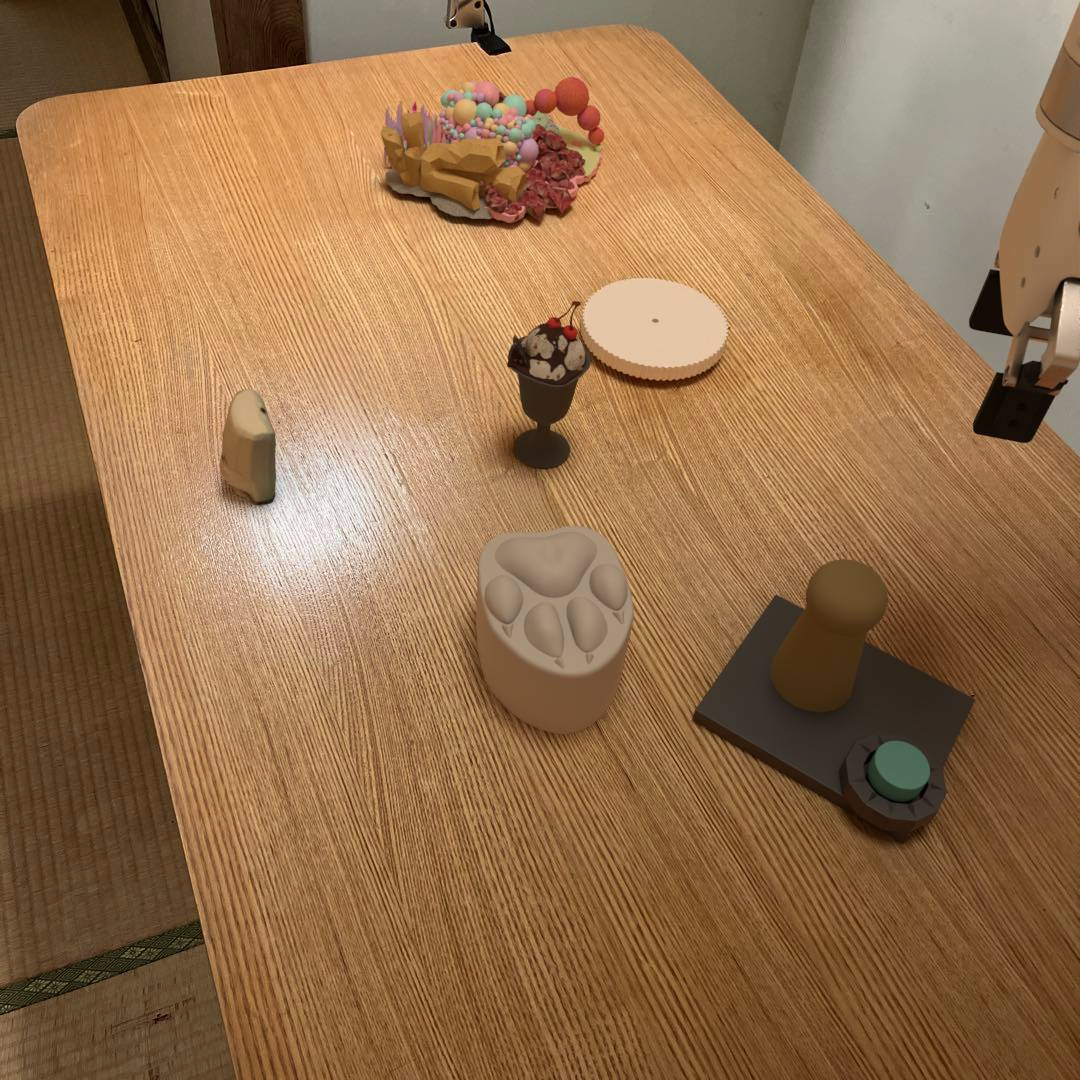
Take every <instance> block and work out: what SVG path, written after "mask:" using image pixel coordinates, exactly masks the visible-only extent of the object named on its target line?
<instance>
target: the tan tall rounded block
mask: <svg viewBox="0 0 1080 1080" xmlns="http://www.w3.org/2000/svg"><path fill="white" fill-rule="evenodd" d="M268 413H269V412H268V410H267V407H266V405H265V401H264V399H263V397H262V396H261V394H259V392H257V391H256V390H254V389H249V388H246V389H241V390H239V391H237V392H236V393H235V394H234V395H233V397H232V398H231V401H230V403H229V406H228V411H227V415H226V418H225V419H226V420H225V423H224V427H223V430H222V445H221V454H220V460H219V471H220V474H221V476H222V478H223V479H224V480H225V481H226V483H228V484H229V485H230V486H232V488H233V489H232V490H233V492H234V493H235V494H236V495H237V496H239V497H242V498H245V499H247V500H248V501H249V502H250V503H252V504H254V505H256V506H259V505H267V504H270V503H273V502H274V500H275V498H276V484H277V469H276V468H277V467H276V463H277V462H276V447H277V437H276V432H275V430H274V428H273V426H272V425H273V424H272V422H271V419H270V417H269V414H268Z"/></svg>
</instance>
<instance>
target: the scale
mask: <svg viewBox="0 0 1080 1080" xmlns="http://www.w3.org/2000/svg"><path fill="white" fill-rule="evenodd" d="M804 609H805V608H803V607H801V606H799V605H797V604H795V603H794V602H791V601H789V600H788V599H786V598H784V597H782V596H780V595H778V594H775V595H774V596H773V597H772V598H771V600H770V602H769V603H768V604H767V606H766V607H765V609H764V610H763V611H762V613H761V615H760V616H759V617H758V619H757V620H756V622H755V623H754V624H753V626H752V628H751V629H750V630H749V632H748V634H746V636H745V638H744V639H743V640H742V642H741V643H740V645H739V646H738V648H737V649H736V650H735V651H734V653H733V654H732V656H731V658H730V659H729V660H728V662H727V663H726V664H725V666H724V668H723V669H722V670H721V672H720V673H719V675H718V676H717V678H716V679H715V681H714V682H713V683H712V684H711V686H710V688H709V689H708V691H707V692H706V694H705V695H704V696H703V698H702V699H701V701H700V702H699V704H698V705H697V706H696V708H695V709H694V712H693V715H692V718H691V721H693V722H694V723H696V724H698V725H699V726H701V727H703V728H704V729H706V730H708V731H710V732H711V733H713V734H715V735H716V736H718V737H720V738H721V739H723V740H724V741H726V742H729V743H730V744H732V745H733V746H735V747H737V748H738V749H741V750H742V751H744V752H745V753H746V754H749V755H750V756H752V757H754V758H756V759H757V760H759V761H760V762H762V763H764V764H766V765H767V766H769V767H771V768H773V769H774V770H776V771H778V772H779V773H781V774H782V775H784V776H786V777H788V778H790V779H791V780H792V781H795V782H796V783H798V784H800V785H801V786H803V787H805V788H807V789H808V790H810V791H812V792H814V793H815V794H817V795H819V796H821V797H822V798H824V799H825V800H827V801H828V802H830V803H832V804H834V805H836V806H838V807H839V808H841V809H843V810H844V811H846V812H848V813H849V814H850V815H853V816H855V817H856V818H858V819H860V820H861V821H863V822H864V823H867V824H868V825H870V826H871V827H873V828H875V829H876V830H878V831H880V832H881V833H884V834H885V835H887V836H888V837H890V838H892V839H894V840H895V841H896V842H898V843H900V844H902V845H904V844H905V843H906V842H907V840H908V839H909V838H910V836H911V834H912V833H913V832H914V831H915V830H918V829H920V828H923V827H924V826H926V825H928V824H930V823H931V822H932V821H933V819H934V818H935V817H936V815H937V814H938V812H939V810H940V809H941V806H942V805H943V803H944V801H945V800H944V799H945V798H946V795H947V793H948V789H947V784H946V779H945V775H944V769H943V768H944V766H945V764H946V761H947V760H948V758H949V756H950V754H951V751H952V749H953V747H954V745H955V743H956V741H957V739H958V737H959V735H960V733H961V731H962V729H963V727H964V725H965V722H966V720H967V719H968V716H969V714H970V712H971V710H972V708H973V706H974V704H975V702H976V698H974V697H972V696H970V695H968V694H966V693H965V692H962V691H961V690H959V689H957V688H955V687H953V686H951V685H949V684H948V683H946V682H944V681H942V680H940V679H938V678H936V677H934V676H933V675H930V674H928V673H926V672H924V671H923V670H921V669H918V668H917V667H915V666H913V665H911V664H909V663H908V662H906V661H904V660H901V659H900V658H898V657H896V656H895V655H893V654H891V653H888V651H887V652H886V651H884V650H883V649H880V647H877V646H875V645H873V644H871V643H869V642H868V641H866V640H865V642H864V646H863V650H862V654H861V658H860V662H859V666H858V670H857V674H856V678H855V682H854V686H853V689H852V693H851V697H850V698H849V699H848V700H847V702H846V703H845V704H844V705H843V706H841V707H839V708H837V709H835V710H833V711H827V712H822V713H821V712H812V711H806V710H804V709H801V708H798V707H796V706H794V705H793V704H791V703H790V702H788V701H787V700H785V699H784V698H783V697H782V696H781V695H780V694H779V692H778V691H777V690H776V689H775V687H774V685H773V682H772V680H771V678H770V665H771V662H772V659H773V657H774V655H775V653H776V652H777V650H778V649H779V647H780V646H781V644H782V643H783V641H784V640H785V638H786V637H787V635H788V634H789V632H790V631H791V629H792V628H793V626H794V625H795V623H796V621H797V620H798V618H799V617H800V615H801V614H802V612H803V611H804ZM889 741H902V742H906V743H909V744H911V745H913V746H914V747H916V748H917V749H919V750H920V751H921V752H922V753H923V755H924V756H925V757H926V759H927V761H928V763H929V767H930V777H929V779H928V781H927V783H926V784H925V786H924V787H923V789H922V790H921V792H920V793H919V795H918V796H917V797H915V798H914V799H912V800H910V801H906V802H897V801H892V800H889V799H887V798H885V797H883V796H882V795H880V794H879V793H878V792H877V791H876V790H875V789H874V788H873V786H872V785H871V783H870V781H869V778H868V773H867V769H868V765H869V763H870V761H871V759H872V757H873V756H874V754H875V752H876V750H877V749H878V748H879V747H880V746H881V745H882V744H884V743H886V742H889Z"/></svg>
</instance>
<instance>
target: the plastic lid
mask: <svg viewBox="0 0 1080 1080" xmlns="http://www.w3.org/2000/svg"><path fill="white" fill-rule="evenodd" d="M717 305H718V304H717V303H716V302H714V300H713V299H710V298H709V296H707V295H705V293H703V292H700V290H695V288H694V287H690V286H689V285H684V283H678V282H677V281H672V280H670V279H669V280H666V279H664V278H662V279H660V278H657V277H656V278H653V277H649V278H648V277H643V278H641V277H637V278H635V277H631V279H629V278H625V280H624V279H620V280H619V281H618V280H616V281H614V282H610V283H609V284H606V285H604V286H601V287H600V289H596V292H593V293H592V294H591V295H590V296H589V298H587V300H586V302H585V303H584V306H583V308H582V314H581V321H580V333H581V334H580V335H581V337H582V341H583V342H584V345H586V349H589V352H590V353H592V355H593V356H594V357H596V359H597V360H600V361H601V363H602V364H605V365H606V366H607V367H611V369H612V370H616V371H617V372H619V373H620V372H622V374H624V375H628V376H630V377H635V378H637V379H638V378H641V379H642V380H646V379H648V380H649V381H653V380H655V381H658V382H659V381H660V380H661V381H662V382H666V380H667V381H670V382H671V381H673V380H675V381H679V380H680V379H681V380H685V379H686V378H688V379H689V378H691V377H696V376H697V375H701V374H702V372H703V373H705V372H707V370H710V369H711V367H714V366H715V364H717V363H718V361H720V360H721V357H722V356H723V354H724V352H725V349H726V344H727V341H728V336H729V326H728V325H729V324H728V322H727V318H726V316H725V314H724V312H723V310H721V307H720V306H717Z"/></svg>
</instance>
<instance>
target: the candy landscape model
mask: <svg viewBox="0 0 1080 1080" xmlns="http://www.w3.org/2000/svg"><path fill="white" fill-rule="evenodd" d="M554 89H555V90H554V91H553V90H552V89H549V88H541V89H539V90H538V91H537V92H536V94H535V95H534V99H533V100H532V99H530V100H529V99H528V100H526V101H525V99H524V98H523V97H521V96H520V95H518V94H515V93H513V94H512V93H511V94H508V95H505V94H504V93H503V92H501V91H500V90H499V88H498V87H497V85H496V84H495V83H493V82H491V81H489V80H483V81H481V82H476V81H474V80H472V81H465V82H463V84H462V85H461V88H460V89H459V90H456V89H448V90H446V91H444V92H443V93H442V95H441V97H440V103H441V106H442V107H444V108H445V109H443V110H441V111H440V112H439V114H435V113H432V115H431V114H430V112H428V113H427V110H426V108H425V103H423V104H422V106H421V107H420V111H418V108H417V107H418V105H417V101H416V100H414V102H413V104H412V107H411V109H407V112H405V113H404V107H403V100H402V99H399V103H398V105H397V109H396V119H395V118H393V116H392V115H391V114H390V108H389V106H387V108H386V110H385V111H384V113H385V115H384V116H385V117H384V118H385V119H384V120H385V121H384V122H385V124H384V125H383V126H382V128H381V131H380V136H381V140H382V142H383V160H384V161H383V162H384V166H387V157H388V162H389V166H391V168H389V169H388V170H387V171H386V172H385V183H386V184H387V185H388V186H390V187H391V189H392V191H395V192H397V193H398V194H410V195H414V196H415V197H424V198H426V197H428V198H429V199H430V200H431V204H433V205H434V206H437V208H438V209H439V211H442V212H444V213H446V214H449V215H451V216H452V217H467V218H470V219H472V220H473V219H474V220H475V219H476V220H477V219H478V220H479V219H481V220H482V219H483V220H484V219H485V220H490V219H495V220H497V221H503V222H505V223H508V224H512V223H515V222H517V221H519V220H521V219H523V218H524V217H525V214H529V215H530V216H532V217H533V218H534V219H535V220H537V221H538V222H540V223H541V222H542V219H543V217H544V215H545V213H546V209H557V210H558V211H559V212H560V213H561V214H563V213H564V212H565V211H566V210H567V209H568V208H569V207H570V205H571V204H572V203H573V202H574V201H575V198H574V197H576V196H577V195H578V192H579V186H578V185H582V184H583V183H586V182H590V181H591V179H592V178H593V177H594V176H595V175H597V173H598V168H599V165H600V164H601V163H602V157H603V156H602V152H603V151H604V146H603V144H601V143H602V142H603V141H604V140H605V132H604V130H603V129H602V128H600V127H599V125H600V123H601V112H600V110H599V109H598V108H596V107H595V106H594V105H591V104H589V101H590V92H589V88H588V86H587V84H586V83H585V82H584V81H583V80H581V79H580V78H578V77H575V76H568V77H566V78H563V79H562V80H560V81H559V82H558V83H557V85H556V86H555V88H554ZM555 109H557V110H558V111H559V112H560V113H561V114H563V115H564V116H566V117H575V116H576V123H577V125H578V126H579V127H580V128H581V129H582V130H583V131H588V134H587V137H586V136H585V135H583V134H581V133H580V132H578V131H576V130H573V129H571V128H568V127H565V126H561V124H558V123H556V122H555V120H554V118H553V116H552V115H551V113H552V112H554V111H555ZM438 116H439V119H438ZM395 120H396V121H395Z"/></svg>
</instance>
